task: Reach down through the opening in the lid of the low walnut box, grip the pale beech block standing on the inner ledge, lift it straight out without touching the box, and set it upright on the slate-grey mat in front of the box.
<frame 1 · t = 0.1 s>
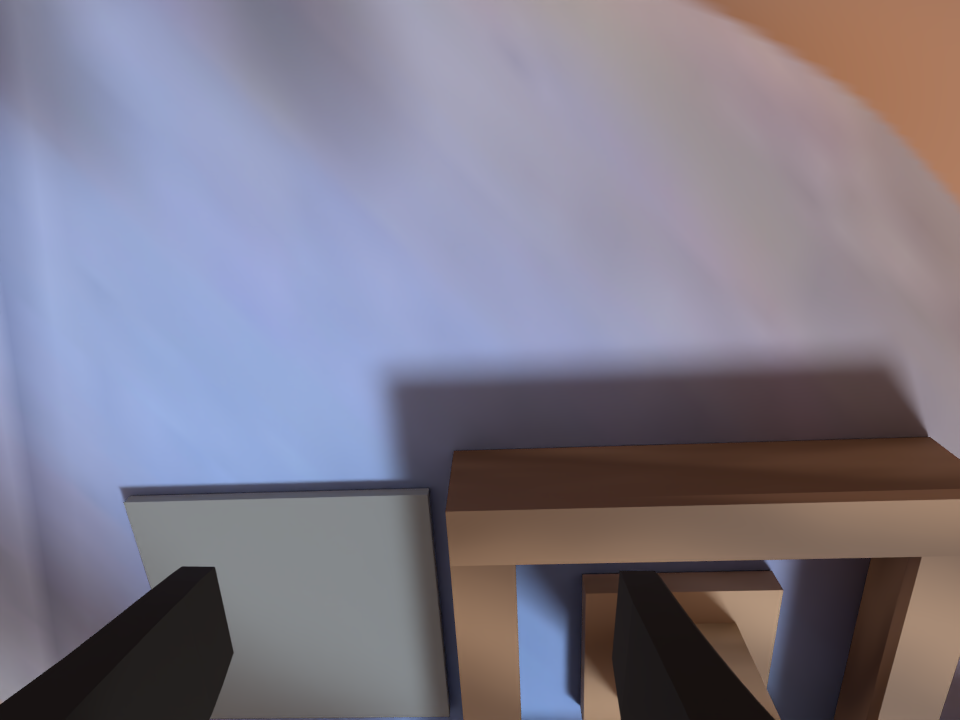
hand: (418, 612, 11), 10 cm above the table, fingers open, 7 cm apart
place mat: (301, 609, 24), on the table
beech block: (677, 664, 23), point 1 cm above the table, touching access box
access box: (670, 643, 24), on the table
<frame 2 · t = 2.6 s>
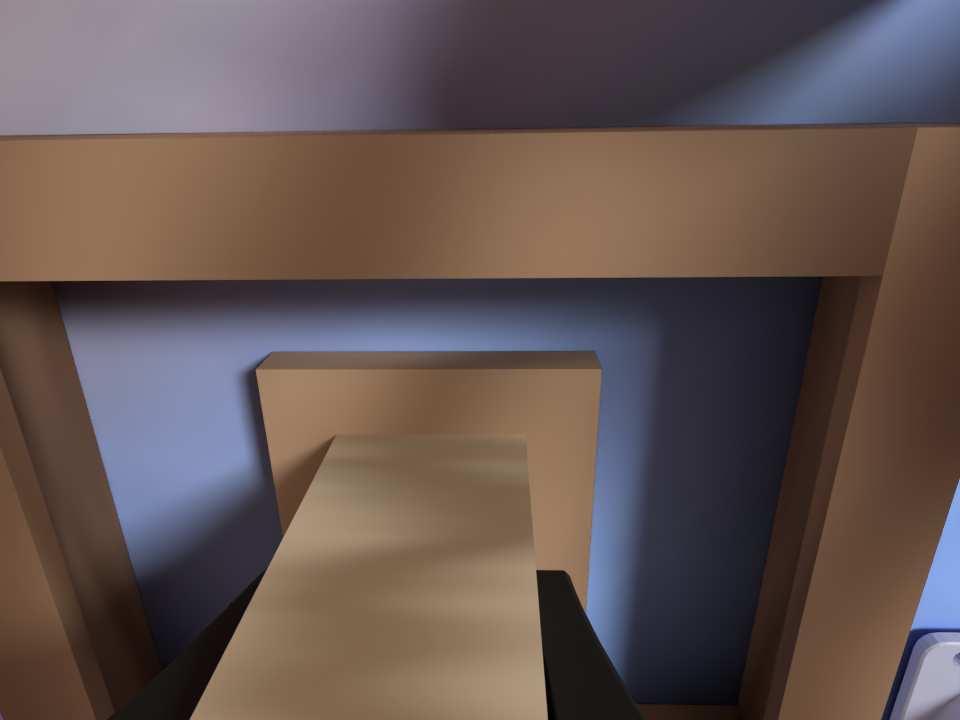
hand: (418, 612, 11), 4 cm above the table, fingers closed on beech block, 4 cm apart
beech block: (434, 514, 14), point 1 cm above the table, touching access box, gripper
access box: (438, 488, 15), on the table
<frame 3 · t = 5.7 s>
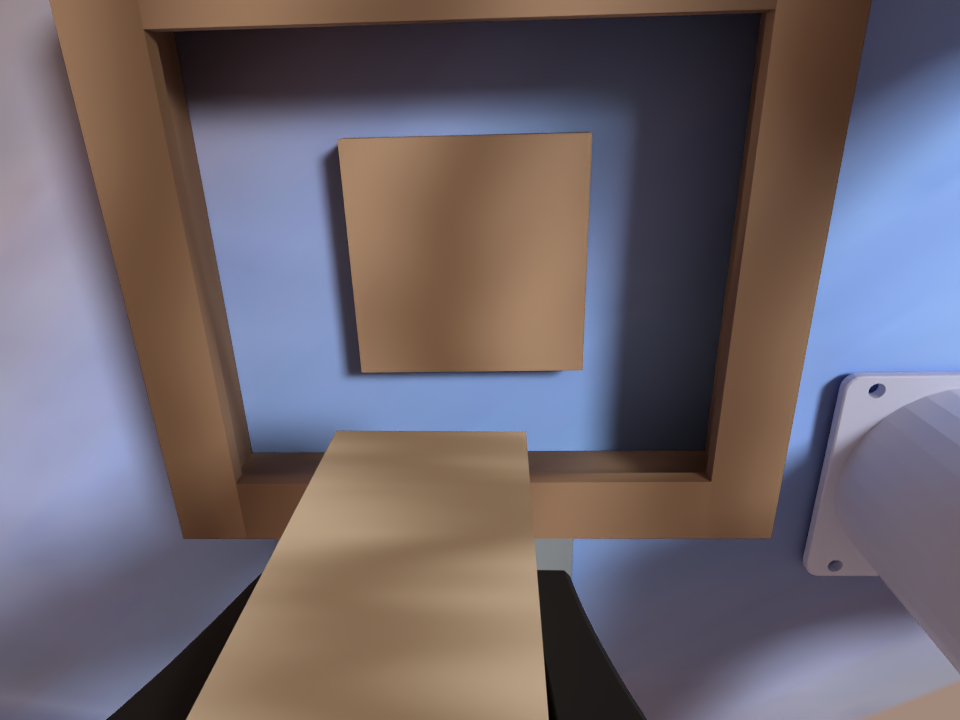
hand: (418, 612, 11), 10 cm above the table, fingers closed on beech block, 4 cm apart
place mat: (430, 615, 24), on the table
beech block: (434, 510, 14), point 7 cm above the table, touching gripper
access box: (469, 255, 19), on the table
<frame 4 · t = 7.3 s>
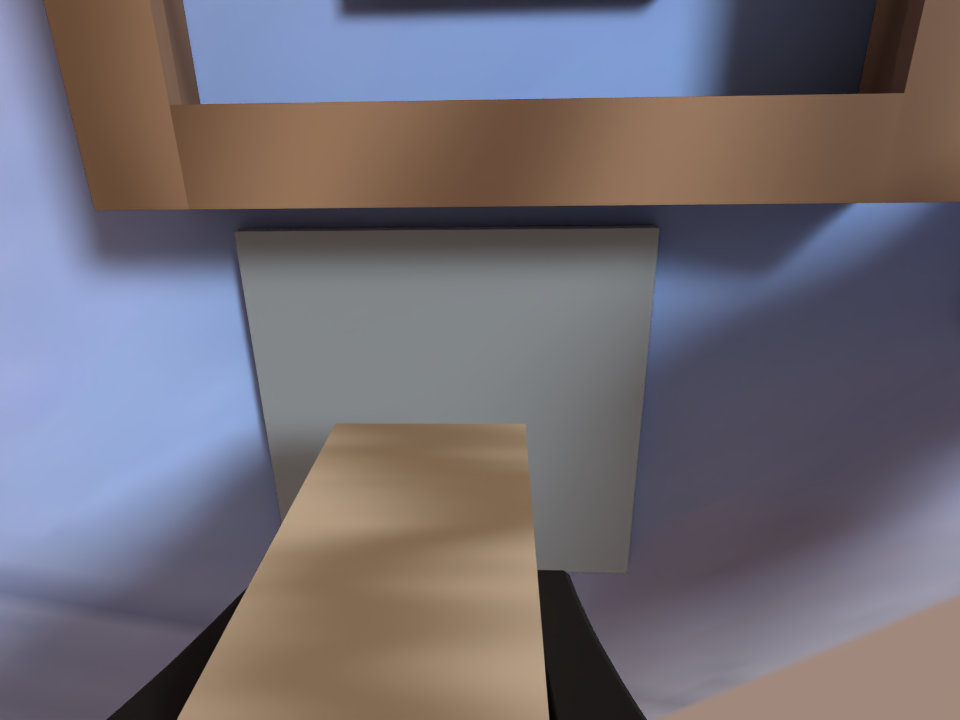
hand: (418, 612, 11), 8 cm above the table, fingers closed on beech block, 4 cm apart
place mat: (452, 413, 18), on the table
beech block: (433, 503, 14), point 5 cm above the table, touching gripper
when the fingers open (5 cm above the table, at t = 8.7 s): beech block drops 2 cm, resting on place mat.
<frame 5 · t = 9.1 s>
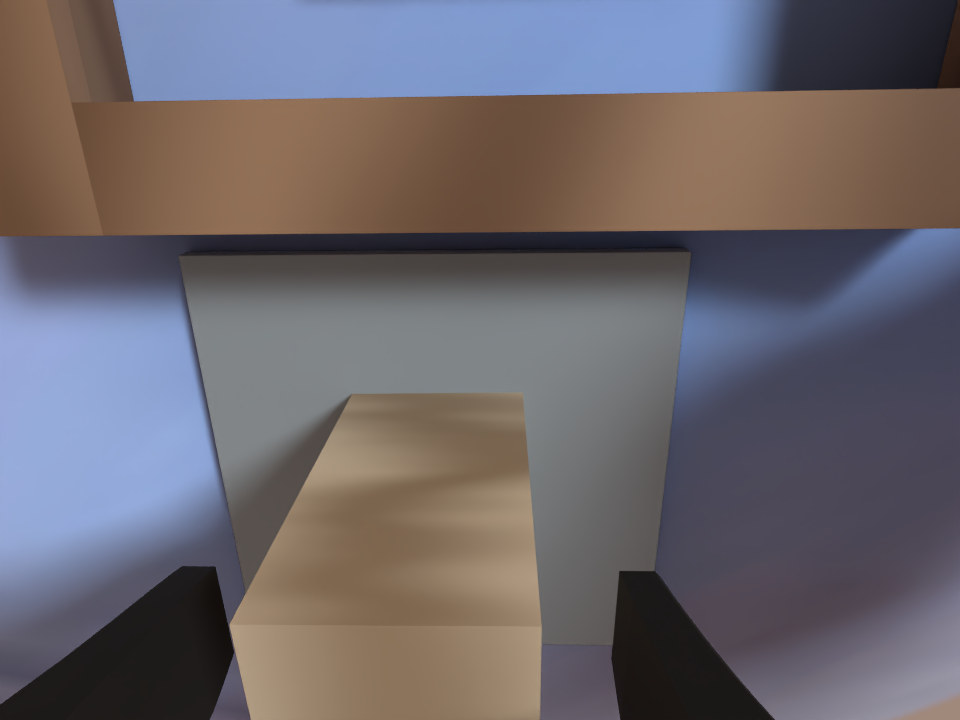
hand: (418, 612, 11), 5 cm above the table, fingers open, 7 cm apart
place mat: (442, 466, 15), on the table
beech block: (440, 467, 15), resting on place mat
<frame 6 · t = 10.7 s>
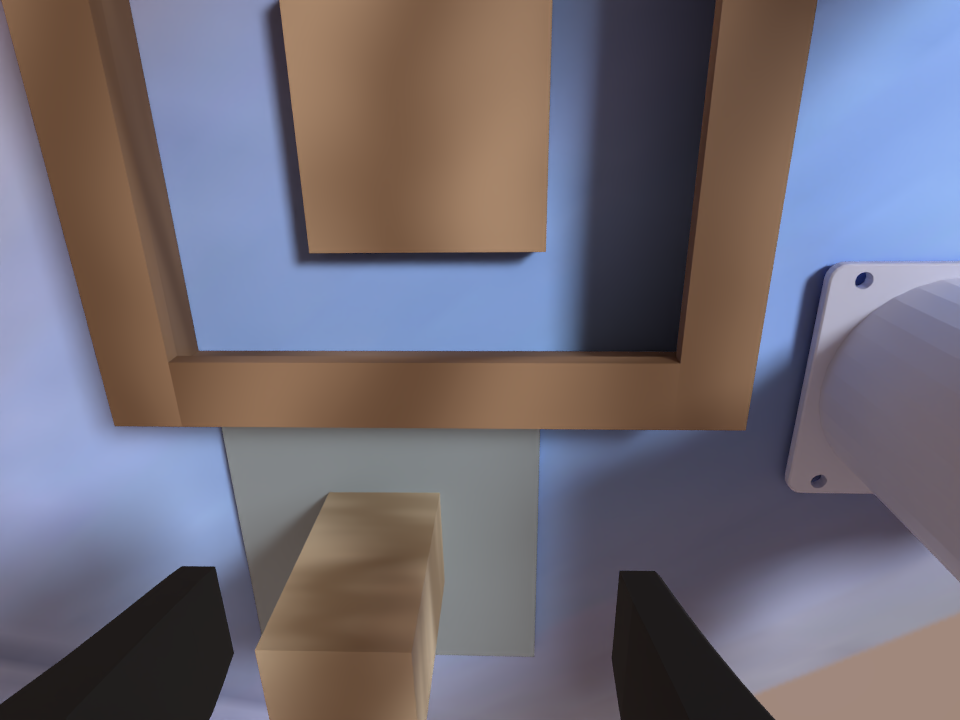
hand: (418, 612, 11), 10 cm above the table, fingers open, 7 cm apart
place mat: (390, 536, 23), on the table
beech block: (388, 538, 23), resting on place mat
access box: (425, 124, 18), on the table
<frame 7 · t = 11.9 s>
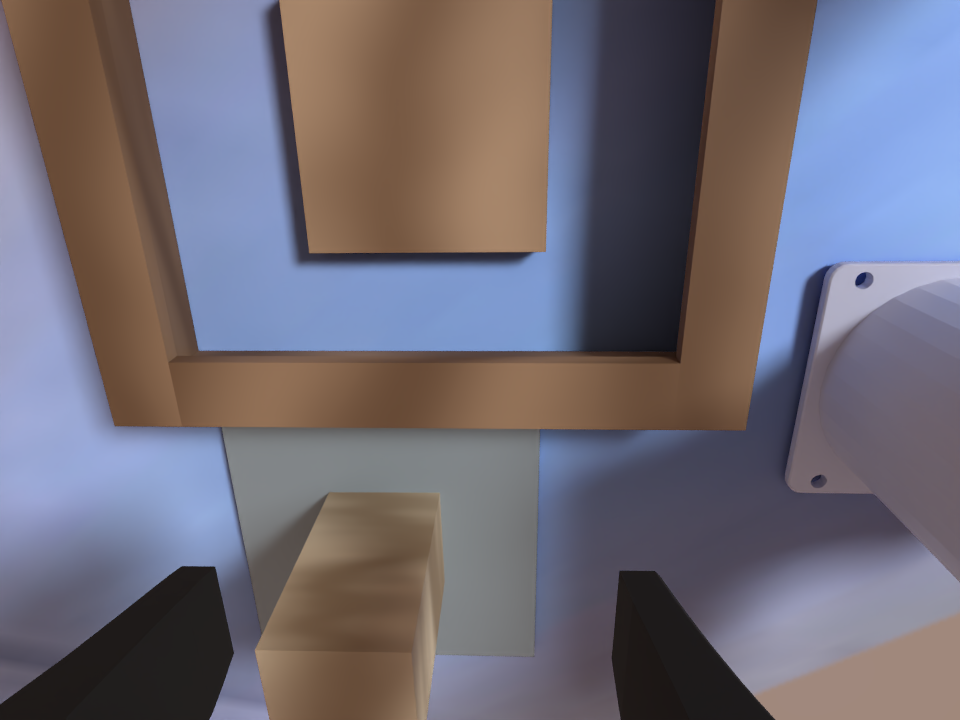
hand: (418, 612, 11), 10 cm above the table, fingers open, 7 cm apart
place mat: (390, 536, 23), on the table
beech block: (388, 538, 23), resting on place mat
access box: (425, 124, 18), on the table
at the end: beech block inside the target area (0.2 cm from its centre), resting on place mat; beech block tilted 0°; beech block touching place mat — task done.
